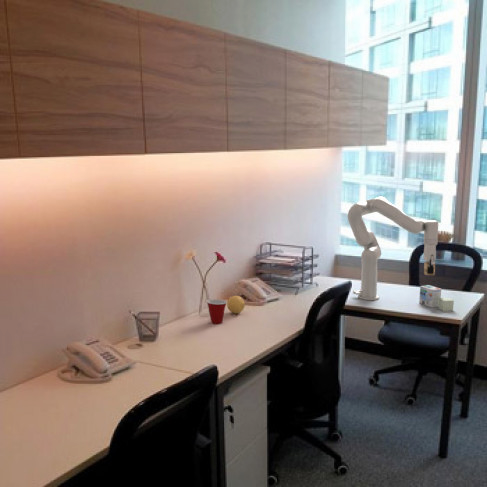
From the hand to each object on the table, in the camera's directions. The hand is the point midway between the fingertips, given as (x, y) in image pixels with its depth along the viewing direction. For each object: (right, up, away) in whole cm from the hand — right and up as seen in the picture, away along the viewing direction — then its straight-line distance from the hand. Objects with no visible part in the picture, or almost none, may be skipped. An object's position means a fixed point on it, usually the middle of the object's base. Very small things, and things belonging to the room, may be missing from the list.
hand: (429, 272), depth 302 cm
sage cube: (+8, -21, -5) cm, 23 cm away
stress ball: (-113, -23, -12) cm, 116 cm away
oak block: (0, -1, 0) cm, 1 cm away
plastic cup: (-123, -25, -27) cm, 128 cm away
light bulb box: (+2, -20, +4) cm, 20 cm away
